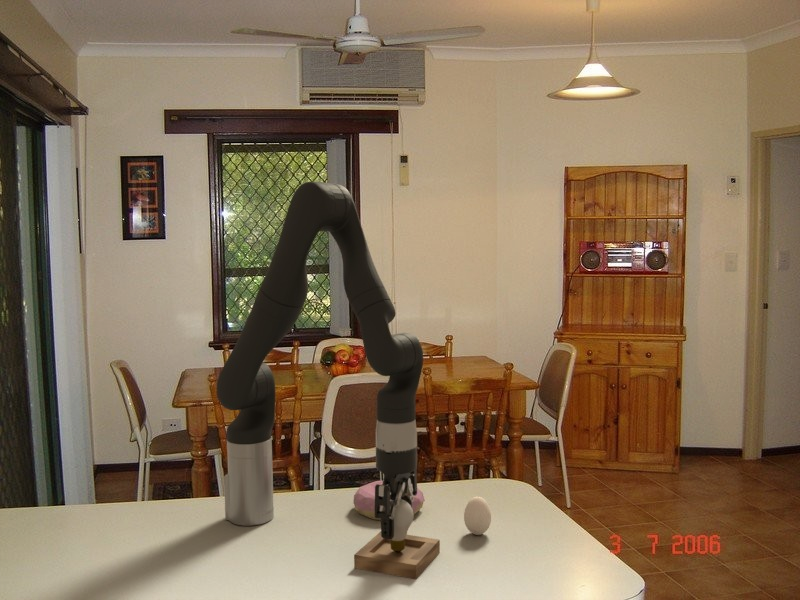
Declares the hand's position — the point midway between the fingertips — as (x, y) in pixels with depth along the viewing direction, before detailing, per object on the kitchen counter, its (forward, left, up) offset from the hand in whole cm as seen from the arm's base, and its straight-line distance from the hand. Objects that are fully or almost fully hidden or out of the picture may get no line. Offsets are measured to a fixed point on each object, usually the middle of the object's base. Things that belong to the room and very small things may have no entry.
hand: (396, 529), depth 147 cm
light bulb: (0, 0, -5) cm, 5 cm away
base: (0, 0, -6) cm, 6 cm away
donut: (-12, +23, -6) cm, 27 cm away
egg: (+10, +17, -6) cm, 21 cm away
